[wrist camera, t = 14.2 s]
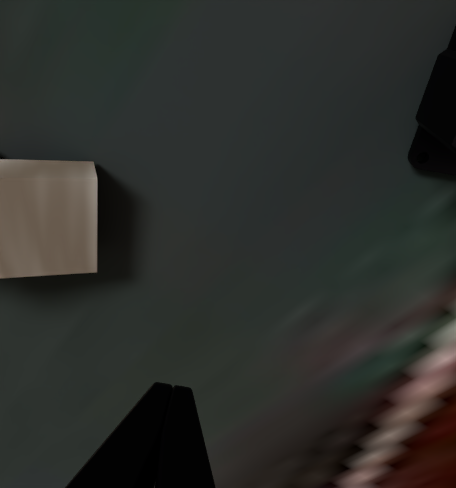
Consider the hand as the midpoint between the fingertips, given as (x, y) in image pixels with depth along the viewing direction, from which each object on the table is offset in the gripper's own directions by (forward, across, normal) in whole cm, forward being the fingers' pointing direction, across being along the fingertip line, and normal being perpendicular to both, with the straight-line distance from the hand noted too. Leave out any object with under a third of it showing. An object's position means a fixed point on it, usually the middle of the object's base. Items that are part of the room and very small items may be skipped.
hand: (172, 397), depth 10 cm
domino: (+11, +6, +2) cm, 13 cm away
